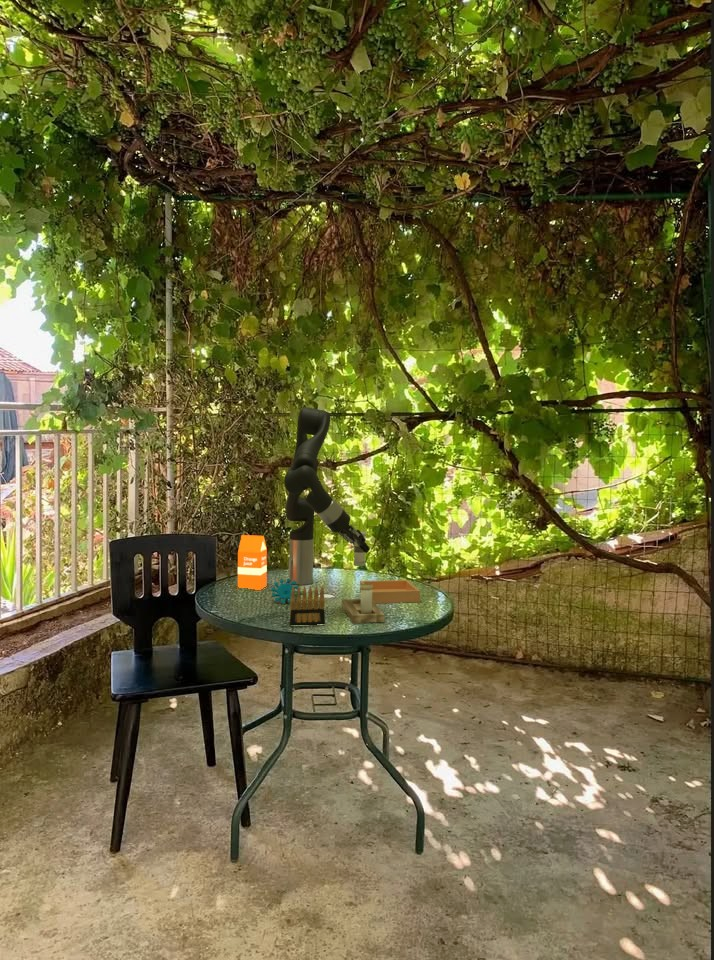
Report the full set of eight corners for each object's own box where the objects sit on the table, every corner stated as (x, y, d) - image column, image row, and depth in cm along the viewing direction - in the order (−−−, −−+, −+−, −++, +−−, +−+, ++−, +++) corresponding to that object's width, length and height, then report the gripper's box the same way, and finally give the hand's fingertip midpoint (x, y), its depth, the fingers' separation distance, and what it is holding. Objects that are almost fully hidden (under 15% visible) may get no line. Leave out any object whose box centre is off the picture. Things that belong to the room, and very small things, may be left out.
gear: (268, 599, 238) (274, 575, 245) (268, 608, 243) (275, 584, 249) (300, 605, 238) (305, 580, 244) (300, 614, 242) (305, 589, 249)
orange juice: (260, 591, 257) (260, 537, 256) (237, 590, 259) (237, 536, 258) (266, 586, 265) (267, 534, 264) (244, 585, 267) (244, 533, 265)
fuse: (361, 621, 219) (361, 586, 218) (358, 618, 222) (359, 583, 222) (373, 621, 219) (373, 586, 219) (370, 617, 223) (371, 583, 222)
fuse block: (352, 623, 216) (352, 615, 216) (341, 606, 237) (342, 599, 237) (384, 622, 218) (384, 614, 218) (371, 605, 238) (371, 598, 238)
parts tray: (369, 603, 241) (369, 592, 241) (359, 591, 259) (360, 581, 259) (420, 602, 245) (420, 590, 244) (407, 590, 262) (407, 580, 262)
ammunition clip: (289, 626, 212) (290, 587, 211) (289, 625, 214) (289, 586, 213) (325, 625, 214) (325, 586, 213) (324, 623, 215) (324, 585, 215)
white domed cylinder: (354, 566, 230) (355, 533, 230) (352, 564, 234) (353, 531, 234) (366, 566, 231) (366, 533, 230) (364, 563, 235) (364, 531, 234)
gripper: (350, 508, 222) (383, 544, 228) (330, 504, 234) (361, 538, 241) (335, 526, 219) (368, 562, 226) (315, 521, 232) (347, 554, 238)
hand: (364, 549), depth 233 cm, fingers closed on white domed cylinder, 3 cm apart
